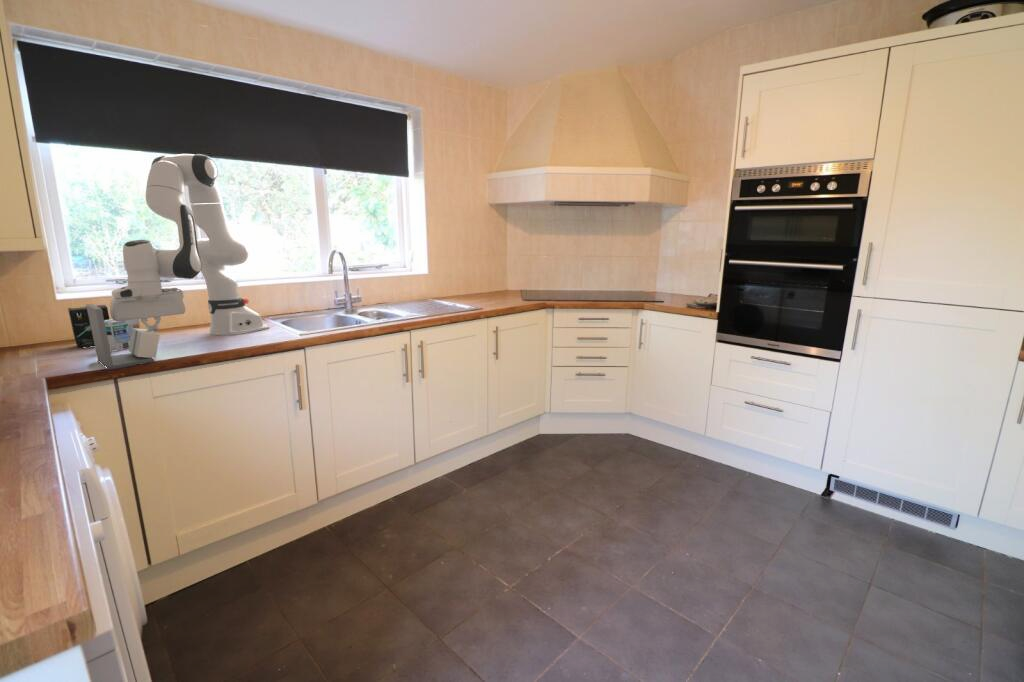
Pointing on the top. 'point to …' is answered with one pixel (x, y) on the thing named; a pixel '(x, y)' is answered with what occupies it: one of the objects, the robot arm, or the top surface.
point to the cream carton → (144, 343)
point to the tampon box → (84, 325)
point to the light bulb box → (120, 332)
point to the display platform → (103, 344)
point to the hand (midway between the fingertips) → (152, 330)
